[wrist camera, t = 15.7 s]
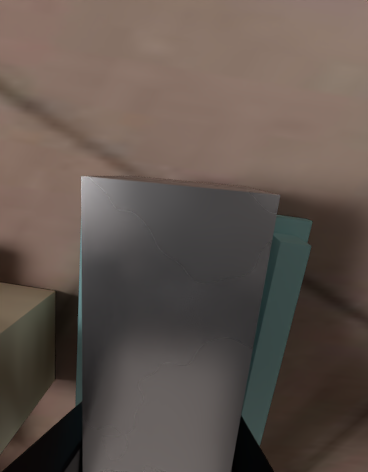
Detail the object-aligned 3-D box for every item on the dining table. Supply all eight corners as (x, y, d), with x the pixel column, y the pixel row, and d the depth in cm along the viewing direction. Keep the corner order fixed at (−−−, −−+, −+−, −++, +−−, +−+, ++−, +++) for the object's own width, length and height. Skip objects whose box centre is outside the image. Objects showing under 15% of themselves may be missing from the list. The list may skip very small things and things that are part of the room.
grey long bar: (198, 513, 9) (196, 663, 7) (119, 500, 10) (83, 641, 7) (246, 186, 7) (280, 194, 4) (133, 175, 7) (81, 175, 4)
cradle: (83, 443, 11) (62, 489, 9) (94, 189, 8) (67, 193, 7) (243, 472, 11) (251, 526, 9) (306, 218, 8) (331, 229, 7)
